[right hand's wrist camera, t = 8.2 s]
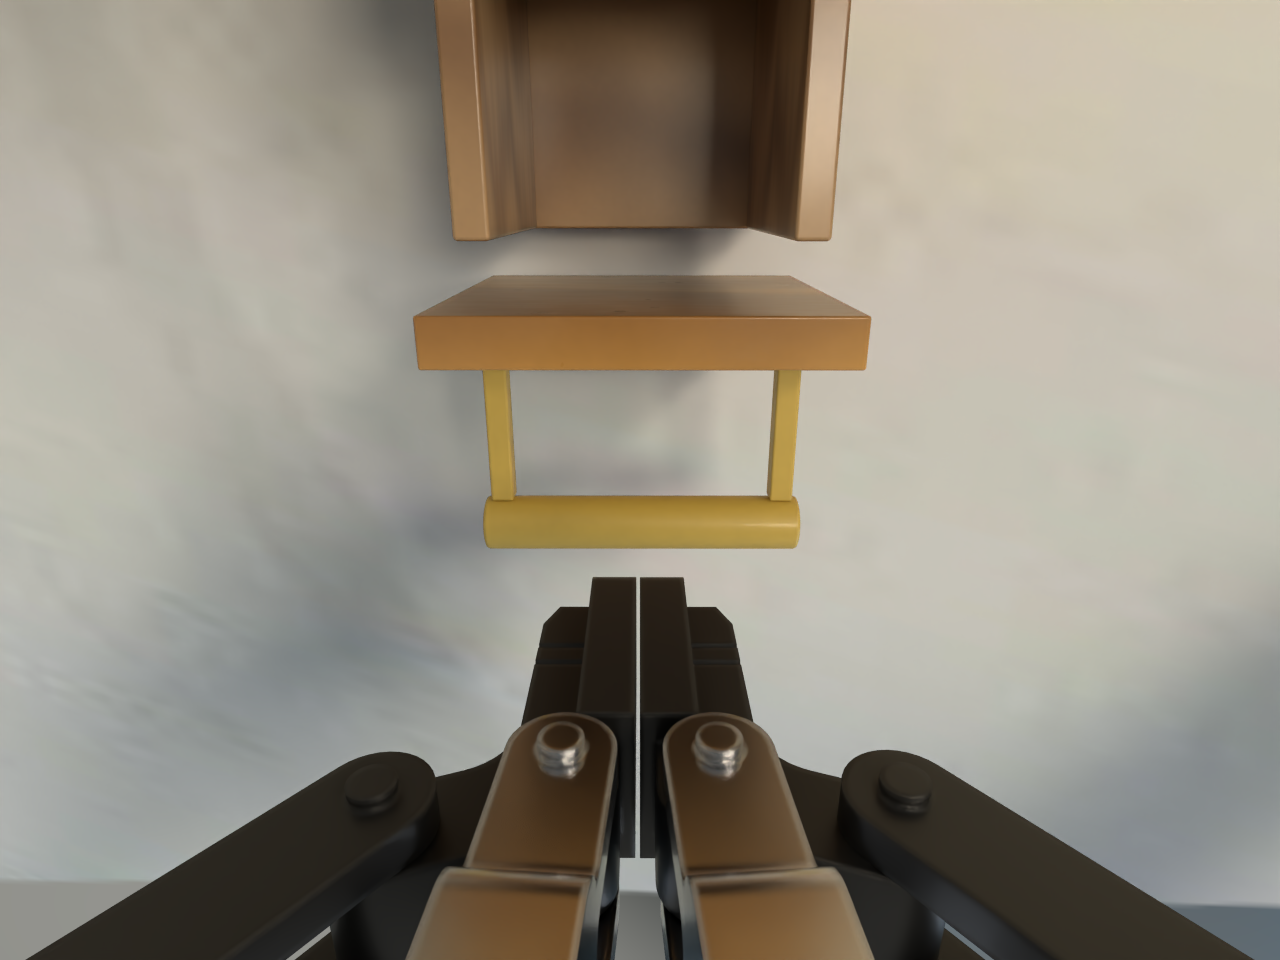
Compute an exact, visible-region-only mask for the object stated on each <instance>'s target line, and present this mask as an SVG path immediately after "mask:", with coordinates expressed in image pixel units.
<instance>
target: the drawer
mask: <svg viewBox="0 0 1280 960" xmlns="http://www.w3.org/2000/svg"><path fill="white" fill-rule="evenodd" d="M434 9H435V21H436V34H437V46H438V58H439V71H440V83H441V95H442V108H443V120H444V132H445V145H446V157H447V169H448V182H449V194H450V206H451V219H452V231H453V238H454V240H456V241H488V240H492V239H496V238H500V237H503V236H507V235H511V234H515V233H519V232H522V231H526V230H530V229H534V228H749V229H753V230H757V231H761V232H765V233H768V234H772V235H776V236H780V237H784V238H788V239H791V240H795V241H829V240H830V239H831V237H832V225H833V213H834V201H835V189H836V177H837V165H838V153H839V141H840V129H841V117H842V106H843V94H844V82H845V70H846V58H847V46H848V34H849V22H850V10H851V0H434ZM413 323H414V332H415V342H416V352H417V362H418V368H419V370H483V383H484V397H485V411H486V425H487V439H488V453H489V466H490V480H491V494H492V496H489V497H488V498H487V500H486V503H485V507H484V516H483V530H484V539H485V542H486V545H487V547H489V548H602V549H793V548H795V547H796V546H797V544H798V540H799V535H800V512H799V506H798V502H797V499H796V498H795V497H794V496H792V488H793V475H794V461H795V448H796V435H797V421H798V408H799V395H800V381H801V370H865V369H866V364H867V354H868V345H869V335H870V325H871V317H870V316H868V315H866V314H865V313H863V312H861V311H859V310H857V309H855V308H853V307H851V306H849V305H847V304H845V303H843V302H841V301H839V300H837V299H835V298H833V297H831V296H829V295H827V294H825V293H823V292H821V291H819V290H817V289H815V288H813V287H811V286H809V285H807V284H805V283H803V282H801V281H799V280H797V279H795V278H793V277H791V276H492V277H490V278H488V279H486V280H484V281H482V282H480V283H478V284H476V285H474V286H472V287H470V288H468V289H466V290H464V291H462V292H460V293H458V294H456V295H454V296H452V297H451V298H449V299H447V300H445V301H443V302H441V303H439V304H437V305H435V306H433V307H431V308H429V309H427V310H425V311H423V312H421V313H419V314H417V315H415V316H414V317H413ZM509 370H774V384H773V400H772V416H771V432H770V448H769V464H768V480H767V494H768V496H515V495H516V492H517V491H516V474H515V458H514V441H513V424H512V408H511V391H510V375H509Z"/></svg>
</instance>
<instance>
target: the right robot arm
mask: <svg viewBox="0 0 1280 960" xmlns="http://www.w3.org/2000/svg"><path fill="white" fill-rule="evenodd" d="M635 805H636V577H593V579H592V587H591V595H590V603H589V607H560V608H559V609H558V610H557V611H556V612H555V613H554V614H553V615H552V616H551V617H550V618H549V619H548V620H547V621H546V622H545V623H544V625H543V629H542V634H541V638H540V643H539V648H538V652H537V656H536V664H535V665H534V670H533V674H532V679H531V683H530V688H529V692H528V697H527V701H526V706H525V710H524V715H523V719H522V724H521V727H519V728H518V729H517V730H516V731H515V732H514V733H513V734H512V735H511V737H510V738H509V740H508V742H507V744H506V746H505V749H504V751H503V752H502V753H501V754H499V755H498V756H497V757H495V758H494V759H492V760H490V761H488V762H486V763H484V764H482V765H479V766H477V767H474V768H471V769H467V770H464V771H460V772H455V773H451V774H447V775H443V776H439V777H435V775H434V772H433V770H432V769H431V767H430V766H429V764H427V763H426V762H425V761H424V760H422V759H421V758H419V757H417V756H414V755H411V754H408V753H402V752H380V753H374V754H369V755H366V756H363V757H359V758H357V759H354V760H352V761H350V762H347V763H346V764H344V765H342V766H340V767H338V768H337V769H335V770H334V771H332V772H330V773H329V774H327V775H325V776H324V777H322V778H321V779H319V780H317V781H316V782H314V783H312V784H311V785H309V786H308V787H306V788H304V789H303V790H301V791H299V792H298V793H296V794H295V795H293V796H291V797H290V798H288V799H286V800H285V801H283V802H281V803H280V804H278V805H277V806H275V807H273V808H272V809H270V810H268V811H267V812H265V813H264V814H262V815H260V816H259V817H257V818H255V819H254V820H252V821H251V822H249V823H247V824H246V825H244V826H242V827H241V828H239V829H238V830H236V831H234V832H233V833H231V834H229V835H228V836H226V837H225V838H223V839H221V840H220V841H218V842H216V843H215V844H213V845H212V846H210V847H208V848H207V849H205V850H203V851H202V852H200V853H199V854H197V855H195V856H194V857H192V858H190V859H189V860H187V861H186V862H184V863H182V864H181V865H179V866H177V867H176V868H174V869H173V870H171V871H169V872H168V873H166V874H164V875H163V876H161V877H160V878H158V879H156V880H155V881H153V882H151V883H150V884H148V885H147V886H145V887H143V888H142V889H140V890H138V891H137V892H135V893H134V894H132V895H130V896H129V897H127V898H125V899H124V900H122V901H121V902H119V903H117V904H116V905H114V906H112V907H111V908H109V909H108V910H106V911H104V912H103V913H101V914H99V915H98V916H96V917H95V918H93V919H91V920H90V921H88V922H87V923H85V924H83V925H82V926H80V927H78V928H77V929H75V930H73V931H72V932H70V933H69V934H67V935H65V936H64V937H62V938H60V939H59V940H57V941H56V942H54V943H52V944H51V945H49V946H47V947H46V948H44V949H42V950H41V951H39V952H38V953H36V954H34V955H33V956H31V957H29V958H28V959H26V960H286V959H287V958H289V957H290V956H291V955H293V954H294V953H295V952H296V951H298V950H299V949H300V948H302V947H303V946H304V945H305V944H307V943H308V942H309V941H311V940H312V939H313V938H314V937H316V936H317V935H318V934H320V933H321V932H322V931H323V930H325V929H326V928H327V927H329V926H330V929H331V932H330V933H328V934H327V935H326V936H325V937H323V938H322V939H321V940H320V941H318V942H317V943H316V944H314V945H313V946H312V947H311V948H309V949H308V950H307V951H306V952H304V953H303V954H302V955H300V956H299V957H298V958H297V959H295V960H614V959H615V949H616V941H617V932H618V923H619V868H620V858H635ZM640 858H655V871H656V888H657V892H658V895H659V897H660V899H661V923H662V932H663V941H664V950H665V959H666V960H985V959H983V958H982V957H981V956H980V955H978V954H977V953H976V952H974V951H973V950H972V949H971V948H969V947H968V946H967V945H966V944H964V943H963V942H962V941H960V940H959V939H958V938H957V937H955V936H954V935H953V934H952V933H950V932H949V931H948V930H946V929H945V928H944V926H945V922H946V923H947V924H949V925H950V926H951V927H953V928H954V929H955V930H956V931H958V932H959V933H960V934H962V935H963V936H964V937H966V938H967V939H968V940H969V941H971V942H972V943H973V944H975V945H976V946H977V947H978V948H980V949H981V950H982V951H984V952H985V953H986V954H987V955H989V956H990V957H991V958H993V959H994V960H1254V959H1252V958H1250V957H1249V956H1247V955H1246V954H1244V953H1242V952H1241V951H1239V950H1237V949H1236V948H1234V947H1233V946H1231V945H1229V944H1228V943H1226V942H1224V941H1223V940H1221V939H1220V938H1218V937H1216V936H1215V935H1213V934H1211V933H1210V932H1208V931H1207V930H1205V929H1203V928H1202V927H1200V926H1198V925H1197V924H1195V923H1194V922H1192V921H1190V920H1189V919H1187V918H1185V917H1184V916H1182V915H1181V914H1179V913H1177V912H1176V911H1174V910H1172V909H1171V908H1169V907H1168V906H1166V905H1164V904H1163V903H1161V902H1159V901H1158V900H1156V899H1155V898H1153V897H1151V896H1150V895H1148V894H1146V893H1145V892H1143V891H1142V890H1140V889H1138V888H1137V887H1135V886H1133V885H1132V884H1130V883H1129V882H1127V881H1125V880H1124V879H1122V878H1120V877H1119V876H1117V875H1116V874H1114V873H1112V872H1111V871H1109V870H1107V869H1106V868H1104V867H1103V866H1101V865H1099V864H1098V863H1096V862H1094V861H1093V860H1091V859H1090V858H1088V857H1086V856H1085V855H1083V854H1081V853H1080V852H1078V851H1077V850H1075V849H1073V848H1072V847H1070V846H1068V845H1067V844H1065V843H1064V842H1062V841H1060V840H1059V839H1057V838H1055V837H1054V836H1052V835H1051V834H1049V833H1047V832H1046V831H1044V830H1042V829H1041V828H1039V827H1037V826H1036V825H1034V824H1033V823H1031V822H1029V821H1028V820H1026V819H1024V818H1023V817H1021V816H1020V815H1018V814H1016V813H1015V812H1013V811H1011V810H1010V809H1008V808H1007V807H1005V806H1003V805H1002V804H1000V803H998V802H997V801H995V800H994V799H992V798H990V797H989V796H987V795H985V794H984V793H982V792H981V791H979V790H977V789H976V788H974V787H972V786H971V785H969V784H968V783H966V782H964V781H963V780H961V779H959V778H958V777H956V776H955V775H953V774H951V773H950V772H948V771H946V770H945V769H943V768H942V767H940V766H938V765H937V764H935V763H933V762H931V761H929V760H927V759H925V758H922V757H920V756H917V755H914V754H910V753H907V752H901V751H894V750H877V751H871V752H867V753H864V754H861V755H859V756H857V757H855V758H854V759H853V760H851V761H850V762H849V763H848V764H847V766H846V767H845V769H844V771H843V774H842V778H839V777H835V776H830V775H826V774H822V773H818V772H814V771H810V770H807V769H803V768H800V767H797V766H795V765H793V764H790V763H788V762H786V761H784V760H783V759H781V758H779V757H778V754H777V752H776V749H775V746H774V744H773V742H772V740H771V738H770V737H769V735H768V734H767V733H766V732H765V731H764V730H763V729H762V728H761V727H759V726H758V725H756V724H755V723H754V722H753V719H752V714H751V709H750V704H749V700H748V695H747V690H746V686H745V681H744V676H743V672H742V667H741V665H740V658H739V653H738V648H737V644H736V639H735V634H734V630H733V625H732V623H731V622H730V621H729V620H728V619H727V618H726V617H725V616H724V615H723V614H722V613H721V612H720V611H719V610H718V609H717V608H716V607H687V604H686V595H685V586H684V578H683V577H640Z"/></svg>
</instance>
